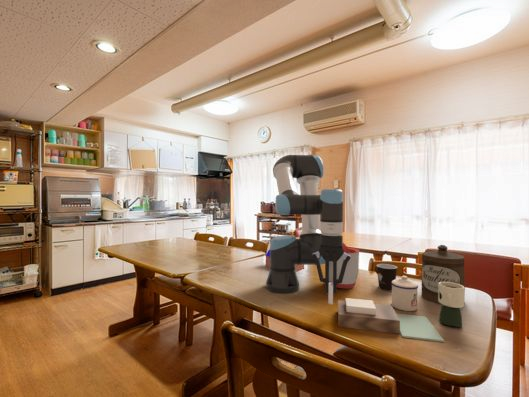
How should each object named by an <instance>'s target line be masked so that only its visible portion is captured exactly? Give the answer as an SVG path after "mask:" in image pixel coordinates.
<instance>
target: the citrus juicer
mask: <svg viewBox="0 0 529 397" xmlns="http://www.w3.org/2000/svg"><path fill="white" fill-rule="evenodd" d="M343 250H344V252H345V253H346V254H348V255H350V260H349V261H348V263H347V266H346V270H345V273H344V277H343V281H342V283H339V284H337V288H338V289H353V288H354V287H355V285H356V281H357V280H358V275H359V267H360V266H359V265H360V264H359V263H360V262H359V261H360V252H361V251H360V249H358V248H355V247H349V246H347V245H346V243H344V242H343ZM343 260H344V259H343V255H342V256H341V258H340V259H339V260H338V261H337V279H339V275H340V271H341V267H342V264H343ZM329 282H330V283H333V262H332V261H329Z"/></svg>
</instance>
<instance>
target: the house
mask: <svg viewBox="0 0 529 397" xmlns="http://www.w3.org/2000/svg"><path fill="white" fill-rule="evenodd" d="M264 256H265V267H266V266H267V267H266V268H269V267H270V248H269V249H268V251H266V254H265V255H264ZM302 269H303V270H305V265H296V266H295V271H296V273H297V272H299V271H303V270H302Z"/></svg>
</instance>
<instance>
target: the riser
mask: <svg viewBox="0 0 529 397" xmlns="http://www.w3.org/2000/svg"><path fill="white" fill-rule="evenodd" d="M374 305H375V307H376V315H372V314H362V313H353V312H346V300H338V301H337V318H338V319H337V322H338V327H339V328H347V329H348V328H349V329H357V330H363V331H374V332H382V333H389V334H399V335H401V333H400V320H399V318H398V316H397V314H398V313H396V311H395V309H394V307H393V306H392V304H391V305H389V304H381V303H374Z"/></svg>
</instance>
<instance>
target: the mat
mask: <svg viewBox="0 0 529 397" xmlns="http://www.w3.org/2000/svg"><path fill="white" fill-rule="evenodd" d="M396 314H397V316H398V318H399V320H400V335H401V337H402V338H405V339H413V340H422V341H423V340H424V341H432V342H441V343H445V339H443V337H442V336H441V335H440V333H439V332H438V331H437V329H436V328H435V326H434V325H433V324H432V322H431V321H430V320H429V319H428V318H427V317H426V316H423V315H415V314H414V315H412V314H406V313H405V314H401V313H396Z"/></svg>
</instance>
